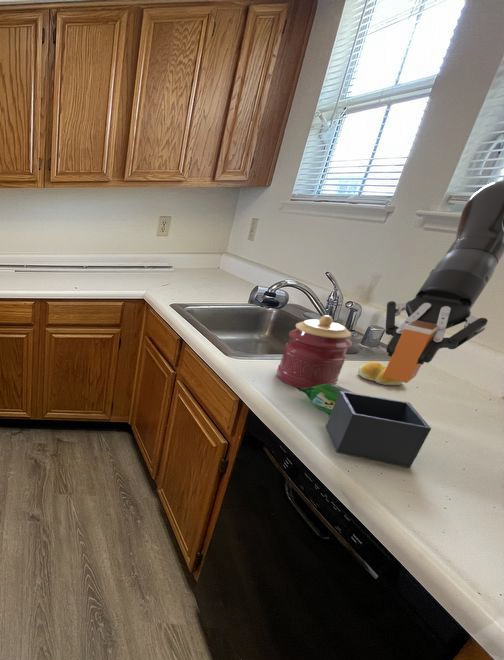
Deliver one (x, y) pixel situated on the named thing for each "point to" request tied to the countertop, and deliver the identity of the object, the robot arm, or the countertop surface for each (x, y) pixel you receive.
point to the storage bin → (376, 428)
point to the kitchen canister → (314, 353)
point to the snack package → (324, 395)
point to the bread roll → (376, 373)
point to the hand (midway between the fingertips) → (405, 357)
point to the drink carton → (410, 350)
